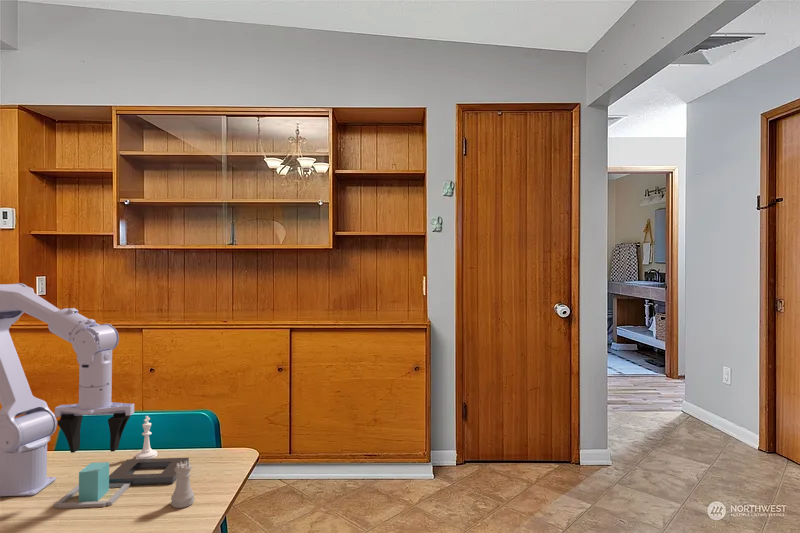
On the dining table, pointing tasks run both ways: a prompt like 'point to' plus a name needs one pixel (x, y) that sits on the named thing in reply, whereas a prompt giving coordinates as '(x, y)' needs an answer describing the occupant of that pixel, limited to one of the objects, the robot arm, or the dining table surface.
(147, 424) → the chess piece
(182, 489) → the rook chess piece
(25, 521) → the dining table surface
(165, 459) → the port block
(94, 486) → the plug
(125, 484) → the open picture frame
